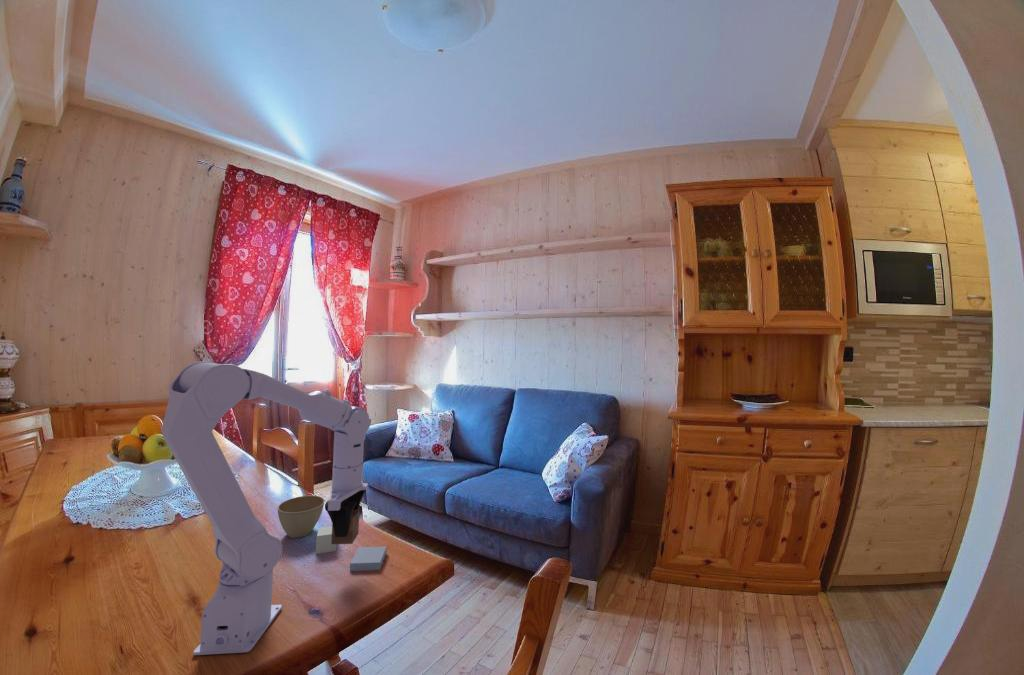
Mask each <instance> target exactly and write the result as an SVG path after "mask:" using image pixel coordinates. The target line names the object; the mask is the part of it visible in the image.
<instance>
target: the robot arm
mask: <svg viewBox="0 0 1024 675" xmlns="http://www.w3.org/2000/svg"><path fill="white" fill-rule="evenodd" d="M168 391H169V393H168V394H169V396H168V397H169V398H168V402H167V406H166V410H165V415H164V418H163V422H162V426H161V434H162V438H163V439H164V441H165V443H166V444H167V447H168V448H169V450H170V452H171V454H172V456H173V457H174V459H175V462H176V463H177V465H178V466H179V468H180V469H181V472H182V474H183V476H184V477H185V478H186V481H187V482H188V484H189V486H190V487H191V490H192V492H193V494H194V495H195V496H196V498H197V501H198V502H199V503H200V506H201V507H202V509H203V511H204V513H205V515H206V516H207V518H208V520H209V522H210V523H211V526H212V527H213V530H212V535H213V536H214V539H215V546H214V554H215V557H216V558H217V559H218V560H219V561H220V562H222V567H221V569H220V571H219V578H218V584H217V587H216V591H215V592H214V594H213V596H212V597H211V598H210V600H209V601H208V602H207V603H206V605H205V606H204V608H203V611H202V615H201V627H200V628H201V630H200V643H199V645H198V646H197V647H196V648H195V649H194V650H193V656H205V655H221V654H222V655H223V654H238V653H239V654H243V653H249V652H251V651H252V649H253V648H254V647H255V646H256V644H257V643H258V642H259V640H260V638H261V637H262V636H263V635H264V634H265V631H267V629H268V628H269V626H270V625H271V624H272V622H273V620H274V619H276V617H277V615H278V614H279V613H280V611H282V608H283V604H273V603H272V602H273V600H272V599H273V584H274V583H273V582H274V568H275V567H276V566H277V564H278V563H279V561H280V558H281V556H282V554H283V545H282V542H281V540H280V539H279V538H278V537H276V536H275V535H271V534H269V532H268V531H267V528H266V526H264V524H263V523H262V521H260V520H259V518H257V516H256V515H255V514H254V512H253V510H252V508H251V506H250V504H249V503H248V502H249V501H247V499H246V496H245V494H244V492H243V490H242V489H241V488H242V487H241V486H240V484H239V482H238V480H237V479H236V477H235V474H234V472H233V471H232V469H231V467H230V464H229V462H228V461H227V459H226V457H225V455H224V452H223V451H222V449H221V447H220V445H219V444H218V441H217V439H216V437H215V435H214V433H213V431H214V430H215V427H217V426H216V425H218V423H219V421H220V420H221V418H222V417H223V416H224V415H226V414H227V413H228V412H229V411H230V410H231V409H233V408H234V407H235V406H237V405H238V404H239V403H240V401H242V400H243V399H244V400H249V401H250V400H253V399H256V398H263V399H266V400H270V401H271V402H275V403H278V404H281V405H285V406H287V407H290V408H293V409H295V410H297V411H298V414H299V417H300V418H301V419H302V420H304V421H308V422H310V423H313V424H316V425H318V426H320V427H324V428H327V429H330V430H331V431H333V432H334V433H333V438H334V439H333V452H332V453H333V454H332V456H333V458H332V473H331V474H332V477H331V478H332V479H331V486H330V496H329V497H330V498H329V499H328V500H327V501H326V503H324V509H325V511H326V513H327V514H328V516H329V517H330V520H331V525H332V524H333V529H334V533H335V537H346V536H347V534H348V530H349V526H350V520H351V515H352V512H353V510H360V509H359V508H360V505H361V502H362V499H363V497H364V496H365V492H366V491H367V489H368V487H369V483H367V482H363V476H364V475H363V474H364V473H363V472H364V470H363V468H364V452H365V451H364V446H365V440H366V436H367V435H366V434H367V432H368V430H369V429H370V426H371V425H372V424H371V423H372V419H371V418H370V416H369V413H368V412H367V411H368V410H366V409H365V408H363V407H360V406H354V405H351V401H350V400H347V399H343V400H342V399H340V398H338V397H337V398H336V397H334V396H332V394H333V393H332V392H331V391H328V390H325V389H322V390H321V391H320V390H314V391H311V392H309V393H307V392H305V391H303V390H300V389H298V388H296V387H293V386H291V385H289V384H287V383H284V382H283V381H281V380H278V379H276V378H274V377H272V376H269V375H267V374H265V373H261V372H258V371H255V370H251V369H246V368H242V367H240V366H238V365H235V364H232V363H216V362H212V361H208V360H207V361H206V360H205V361H202V360H201V361H196V362H192V363H190V364H189V365H186V366H185V367H184V368H183V369H182V370H181V371H180V372H179V373H178V375H177V376H176V377H175V378H174V380H173V381H172V382H171V383H170V384H169V386H168Z"/></svg>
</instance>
